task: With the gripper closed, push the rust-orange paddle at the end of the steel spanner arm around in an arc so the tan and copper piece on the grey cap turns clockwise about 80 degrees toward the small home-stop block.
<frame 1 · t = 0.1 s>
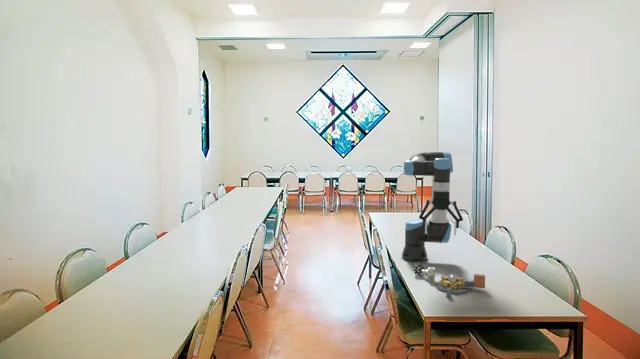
hand: (440, 234, 206), 28 cm above the table, tool pointing down, fingers open, 13 cm apart
valve: (425, 278, 225), on the table
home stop: (448, 296, 200), on the table
tan and copper piece: (462, 279, 210), point 4 cm above the table, hinge at 0.0°
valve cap: (452, 287, 211), on the table
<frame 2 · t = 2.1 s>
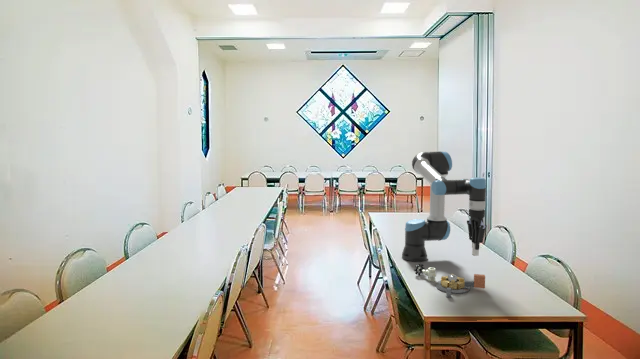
hand: (475, 255, 213), 15 cm above the table, tool pointing down, fingers closed
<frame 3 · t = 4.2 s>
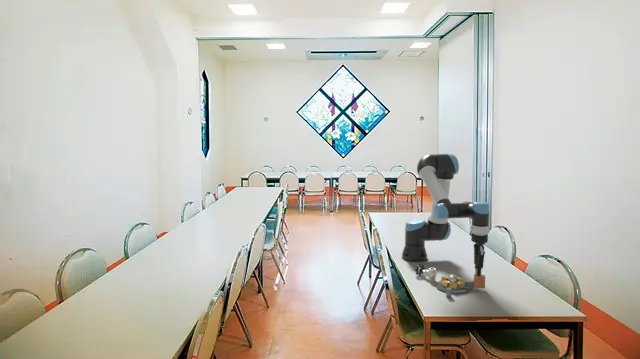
hand: (477, 280, 210), 4 cm above the table, tool pointing down, fingers closed
tan and copper piece: (462, 279, 210), point 4 cm above the table, hinge at 1.0°, touching gripper
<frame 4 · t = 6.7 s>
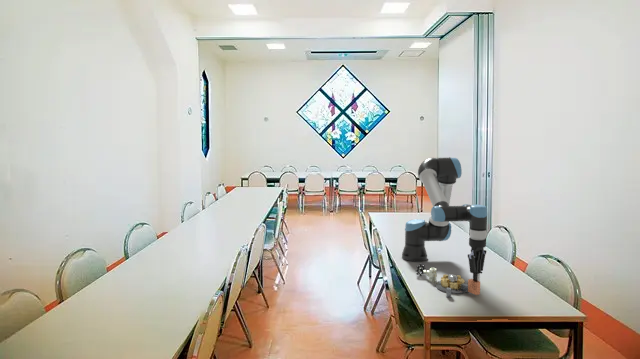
hand: (476, 286, 202), 4 cm above the table, tool pointing down, fingers closed
tan and copper piece: (460, 281, 207), point 4 cm above the table, hinge at 42.2°, touching gripper
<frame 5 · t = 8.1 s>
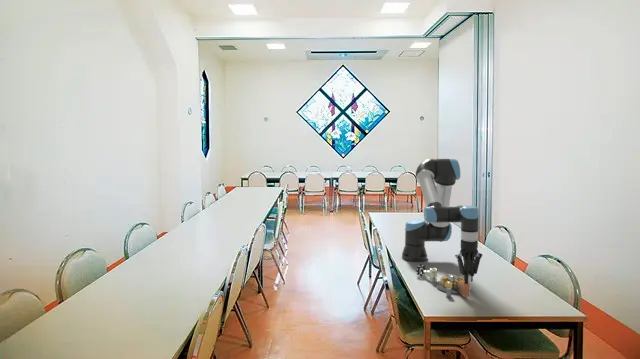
hand: (468, 288, 199), 4 cm above the table, tool pointing down, fingers closed
tan and copper piece: (456, 282, 206), point 4 cm above the table, hinge at 67.9°, touching gripper
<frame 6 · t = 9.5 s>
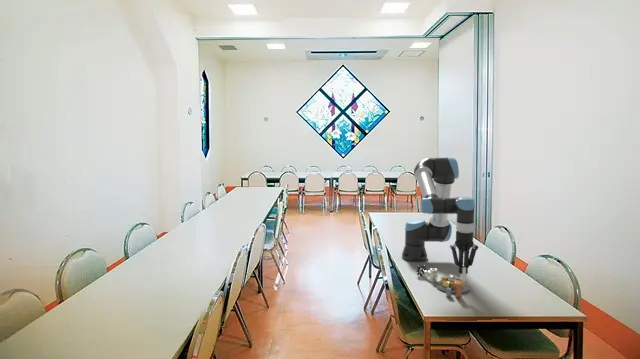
hand: (462, 280, 198), 8 cm above the table, tool pointing down, fingers closed
tan and copper piece: (454, 282, 206), point 4 cm above the table, hinge at 81.6°
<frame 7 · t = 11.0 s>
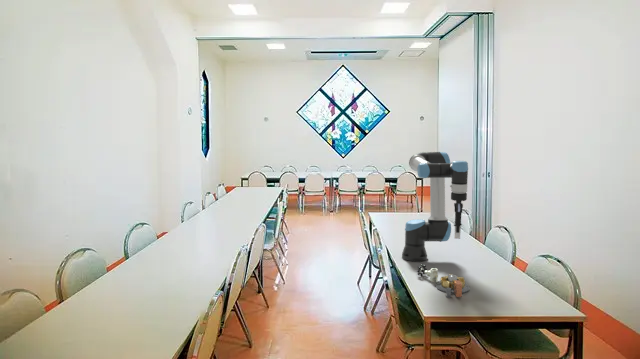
hand: (457, 238, 214), 24 cm above the table, tool pointing down, fingers closed
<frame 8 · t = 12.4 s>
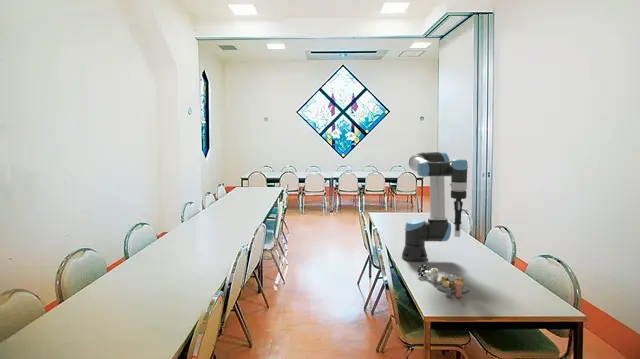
hand: (457, 236, 215), 24 cm above the table, tool pointing down, fingers closed
at the end: tan and copper piece at +82° (first picture: +0°); tan and copper piece touching nothing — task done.
